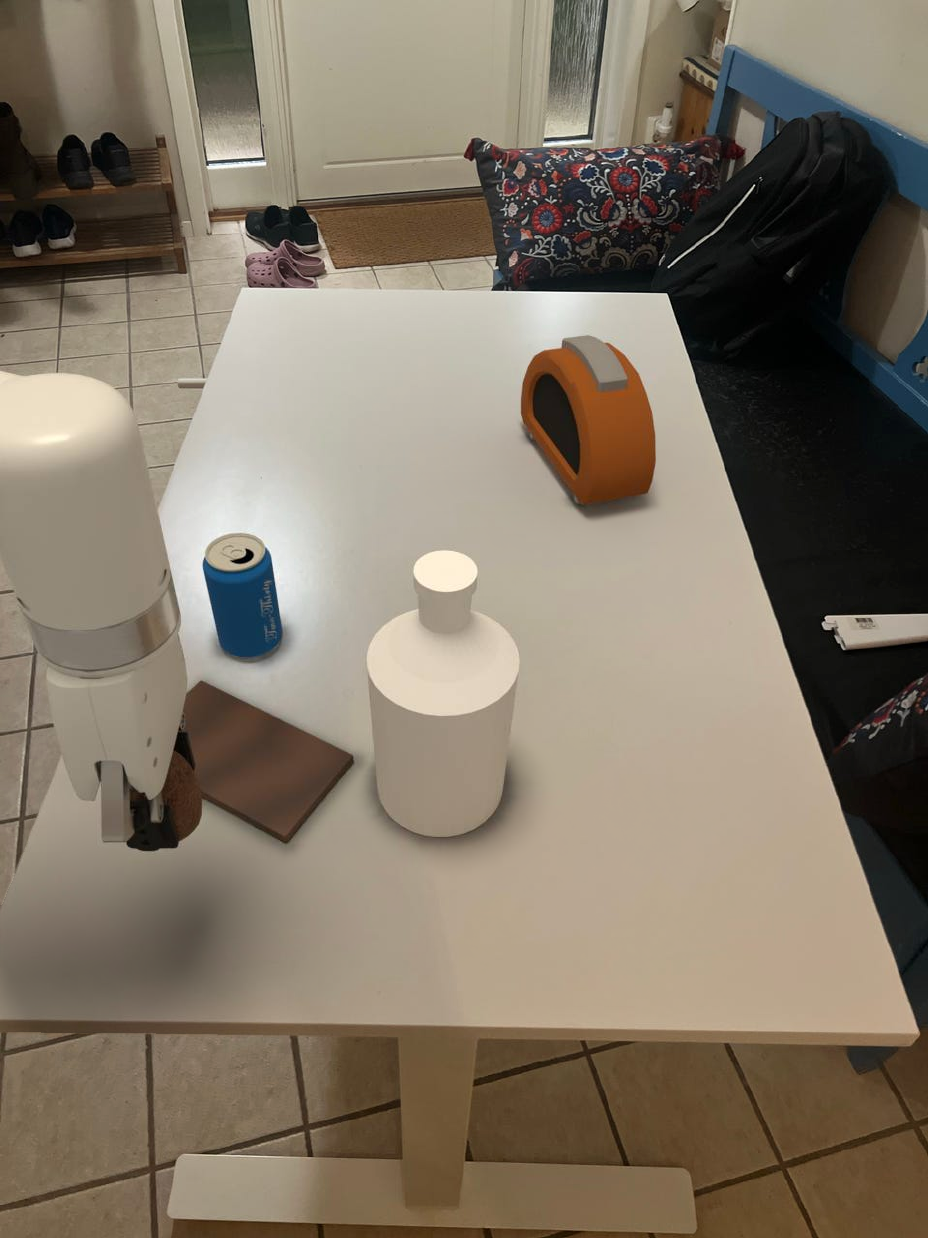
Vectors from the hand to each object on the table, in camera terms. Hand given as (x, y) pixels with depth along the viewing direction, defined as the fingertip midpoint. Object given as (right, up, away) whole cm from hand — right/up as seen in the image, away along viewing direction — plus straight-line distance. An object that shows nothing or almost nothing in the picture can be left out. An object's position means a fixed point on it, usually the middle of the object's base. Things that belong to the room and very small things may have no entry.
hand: (163, 805), depth 59 cm
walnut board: (0, 0, +22) cm, 22 cm away
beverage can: (-2, +10, +33) cm, 35 cm away
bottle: (+18, -2, +21) cm, 27 cm away
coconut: (0, -2, +2) cm, 3 cm away
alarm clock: (+35, +33, +59) cm, 76 cm away
